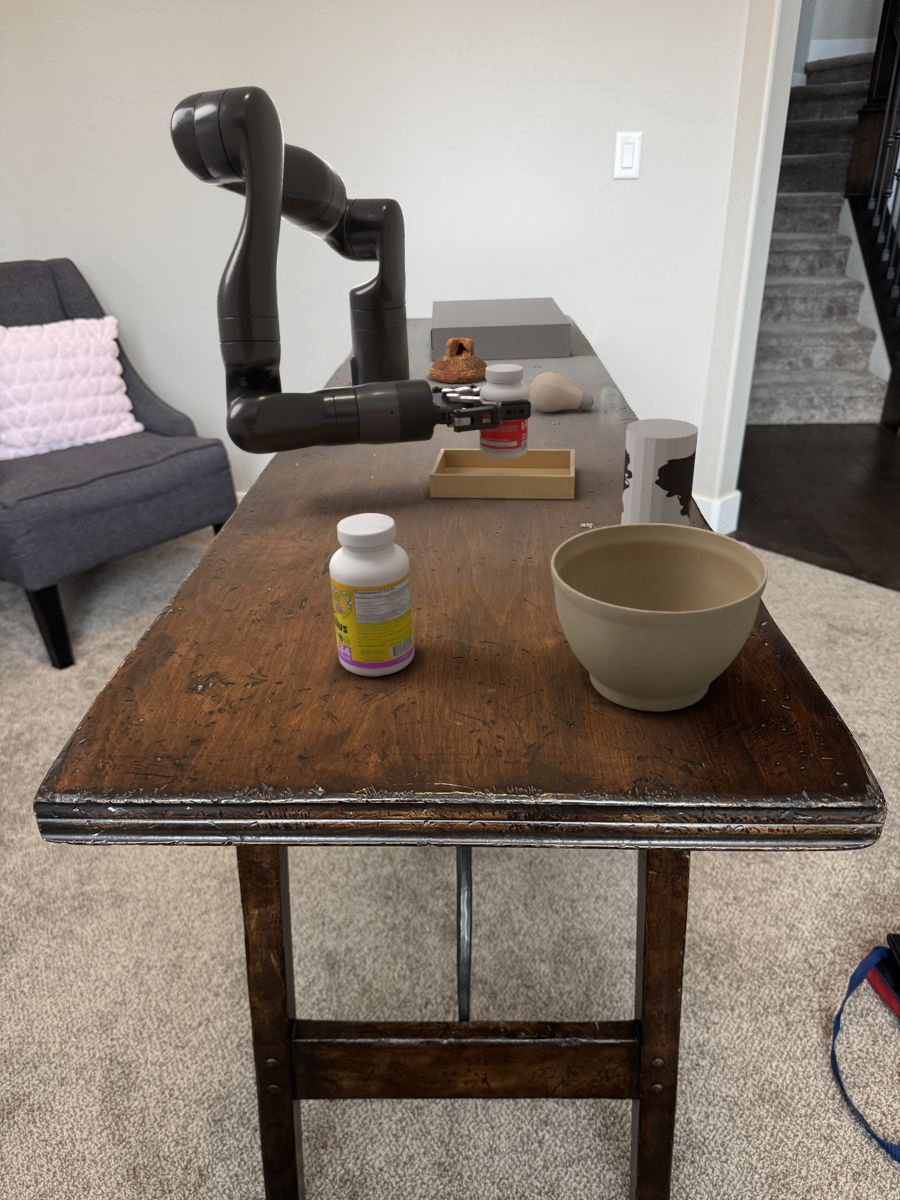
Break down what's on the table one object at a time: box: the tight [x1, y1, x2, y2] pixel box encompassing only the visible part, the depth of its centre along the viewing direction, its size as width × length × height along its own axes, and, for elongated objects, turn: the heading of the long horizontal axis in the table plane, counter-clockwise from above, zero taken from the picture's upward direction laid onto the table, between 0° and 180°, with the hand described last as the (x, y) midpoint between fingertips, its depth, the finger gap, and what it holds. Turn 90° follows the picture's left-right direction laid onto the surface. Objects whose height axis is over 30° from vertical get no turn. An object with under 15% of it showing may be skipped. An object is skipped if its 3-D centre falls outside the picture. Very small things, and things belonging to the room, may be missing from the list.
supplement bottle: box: [328, 512, 415, 677], centre depth 75 cm, size 7×7×13 cm
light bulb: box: [528, 371, 595, 413], centre depth 147 cm, size 7×7×11 cm
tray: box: [429, 447, 576, 500], centre depth 117 cm, size 18×11×3 cm, turn 83°
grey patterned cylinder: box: [620, 418, 699, 527], centre depth 89 cm, size 7×7×15 cm
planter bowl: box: [550, 523, 769, 713], centre depth 71 cm, size 16×16×11 cm
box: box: [430, 296, 572, 362], centre depth 200 cm, size 35×29×7 cm
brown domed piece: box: [428, 338, 488, 384], centre depth 171 cm, size 12×12×7 cm
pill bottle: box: [479, 363, 529, 459], centre depth 113 cm, size 6×6×11 cm
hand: (521, 402), depth 113 cm, fingers closed on pill bottle, 6 cm apart
